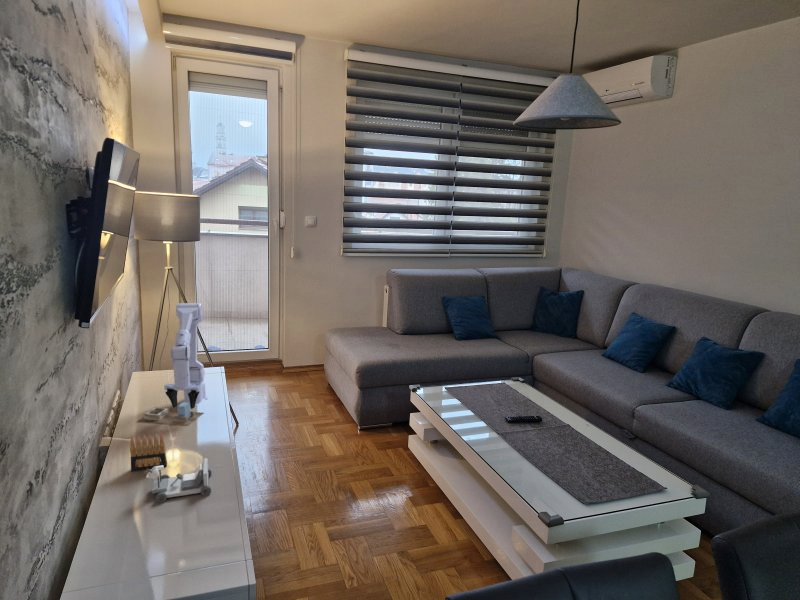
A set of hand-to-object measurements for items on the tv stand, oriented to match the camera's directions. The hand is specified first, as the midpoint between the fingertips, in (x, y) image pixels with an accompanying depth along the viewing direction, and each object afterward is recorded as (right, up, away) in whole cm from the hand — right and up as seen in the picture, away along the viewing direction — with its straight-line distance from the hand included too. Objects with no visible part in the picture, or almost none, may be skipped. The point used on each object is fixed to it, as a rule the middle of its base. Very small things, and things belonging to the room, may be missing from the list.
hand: (183, 407), depth 207 cm
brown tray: (-6, -5, +2) cm, 8 cm away
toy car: (+19, -16, -48) cm, 54 cm away
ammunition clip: (+4, -13, -36) cm, 39 cm away
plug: (0, -5, +1) cm, 5 cm away
